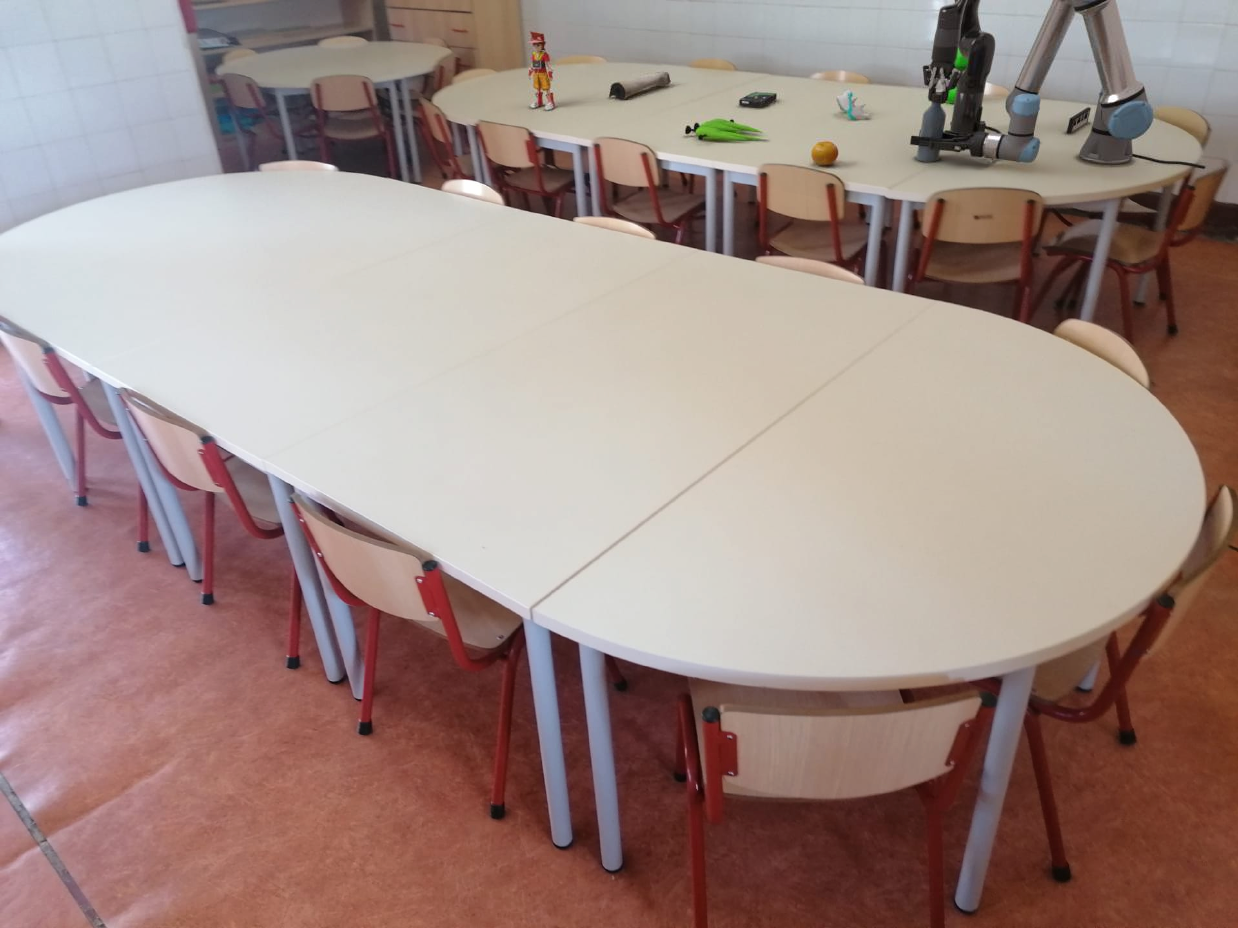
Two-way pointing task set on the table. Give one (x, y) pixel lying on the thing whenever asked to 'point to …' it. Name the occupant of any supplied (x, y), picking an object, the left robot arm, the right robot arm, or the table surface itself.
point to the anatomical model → (850, 105)
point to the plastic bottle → (959, 65)
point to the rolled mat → (638, 84)
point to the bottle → (931, 131)
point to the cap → (936, 97)
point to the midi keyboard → (1078, 120)
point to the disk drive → (757, 99)
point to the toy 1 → (541, 71)
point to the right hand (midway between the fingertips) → (915, 137)
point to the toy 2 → (721, 130)
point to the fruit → (824, 153)
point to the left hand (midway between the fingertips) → (937, 101)
